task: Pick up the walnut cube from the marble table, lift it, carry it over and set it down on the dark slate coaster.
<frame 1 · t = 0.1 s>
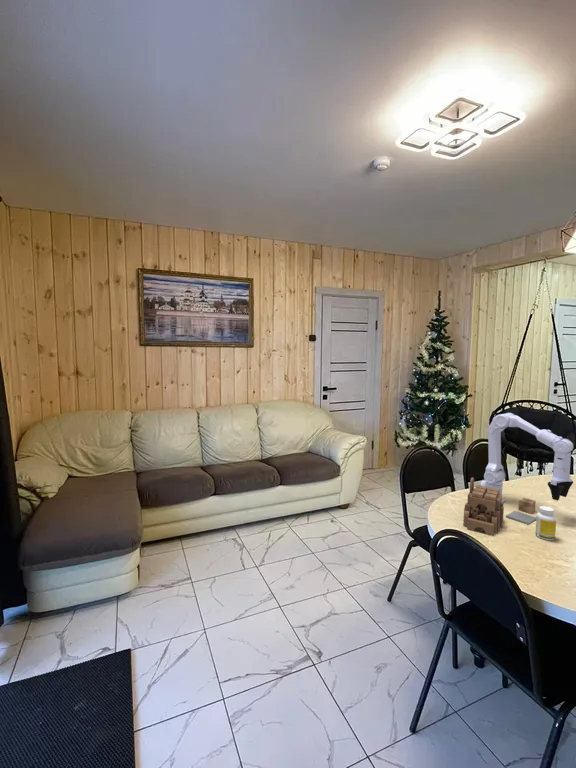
hand: (559, 498, 164), 10 cm above the table, tool pointing down, fingers open, 7 cm apart
slate coaster: (521, 518, 166), on the table
walnut cube: (526, 511, 175), on the table
pill bottle: (544, 537, 149), on the table
wooden puzzle: (482, 523, 162), on the table
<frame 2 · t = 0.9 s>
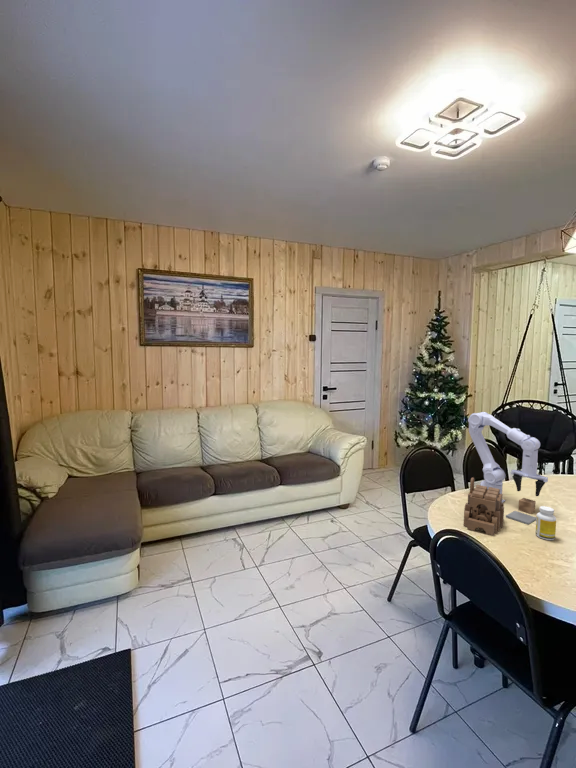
hand: (527, 493, 174), 8 cm above the table, tool pointing down, fingers open, 7 cm apart
nothing on the table moved.
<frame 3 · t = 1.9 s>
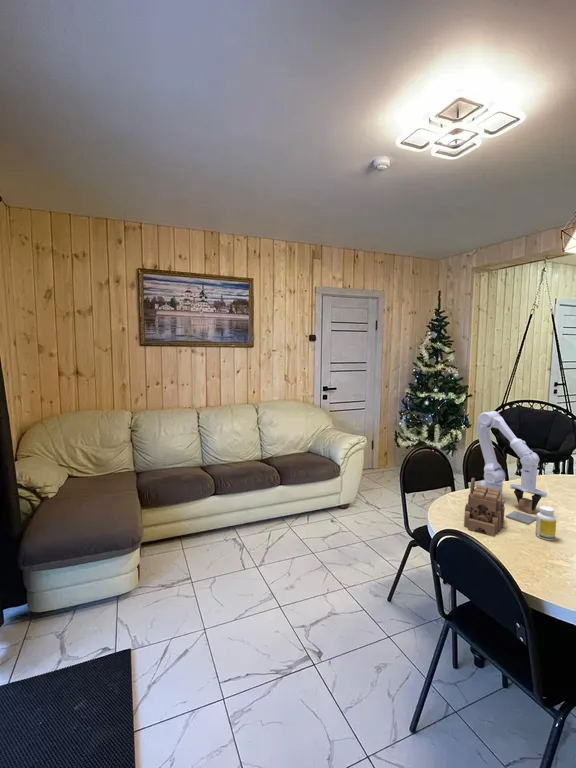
hand: (526, 507, 174), 1 cm above the table, tool pointing down, fingers closed on walnut cube, 5 cm apart
walnut cube: (526, 510, 175), on the table, touching gripper
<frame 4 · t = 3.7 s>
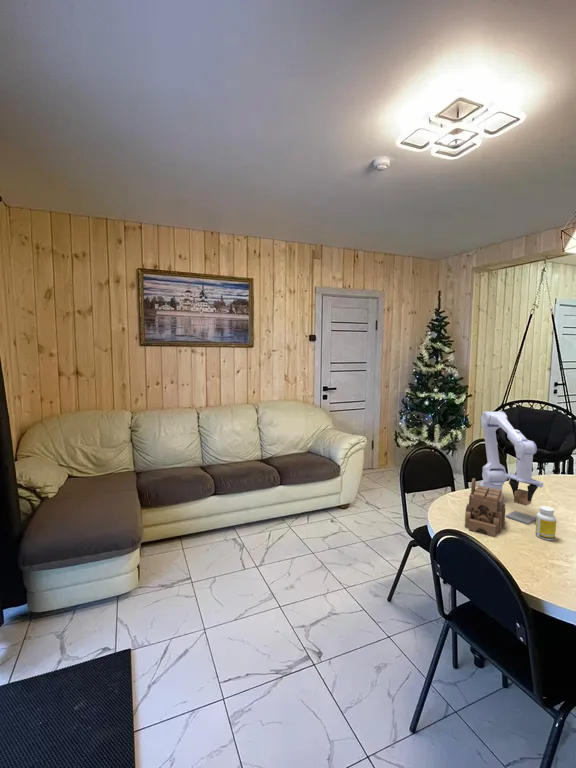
hand: (522, 498, 166), 9 cm above the table, tool pointing down, fingers closed on walnut cube, 5 cm apart
walnut cube: (522, 502, 166), point 7 cm above the table, touching gripper
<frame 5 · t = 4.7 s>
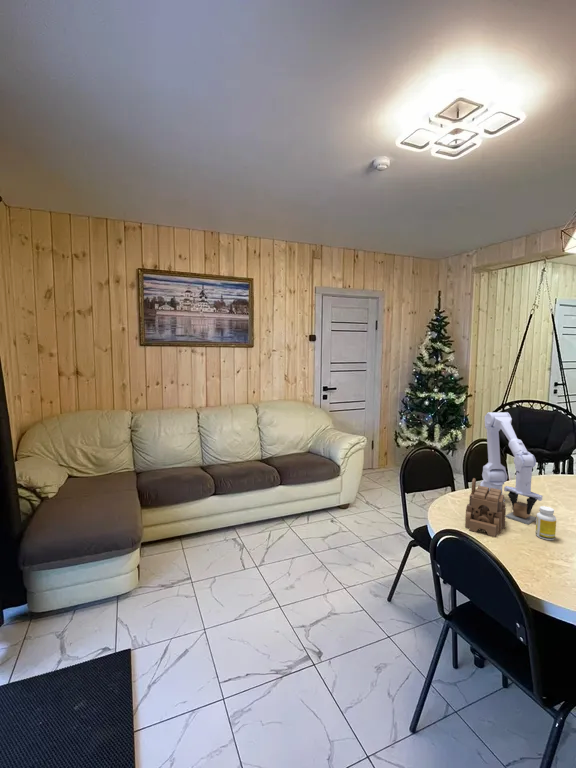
hand: (521, 511, 166), 3 cm above the table, tool pointing down, fingers closed on walnut cube, 5 cm apart
walnut cube: (521, 515, 166), point 1 cm above the table, touching gripper
when the fingers open (3 cm above the table, at t = 5.3 s): walnut cube stays where it is, resting on slate coaster.
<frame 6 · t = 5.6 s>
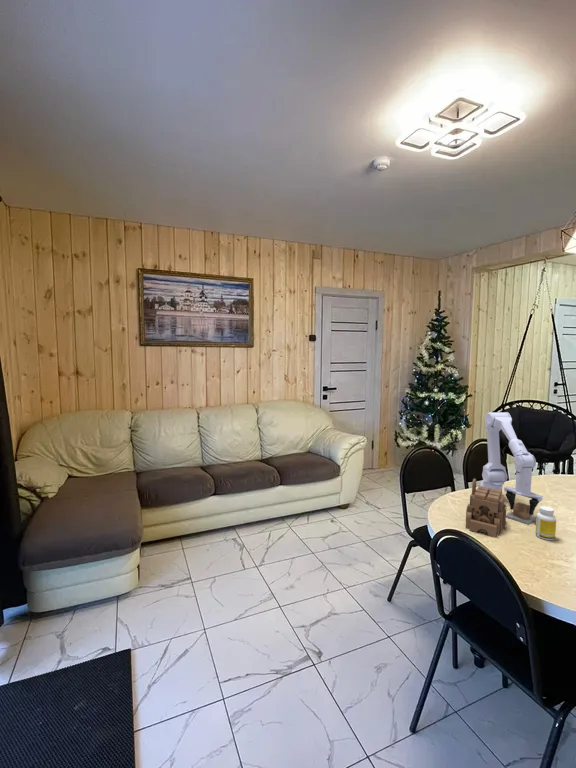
hand: (521, 511, 166), 3 cm above the table, tool pointing down, fingers open, 7 cm apart
walnut cube: (521, 516, 167), point 1 cm above the table, touching slate coaster
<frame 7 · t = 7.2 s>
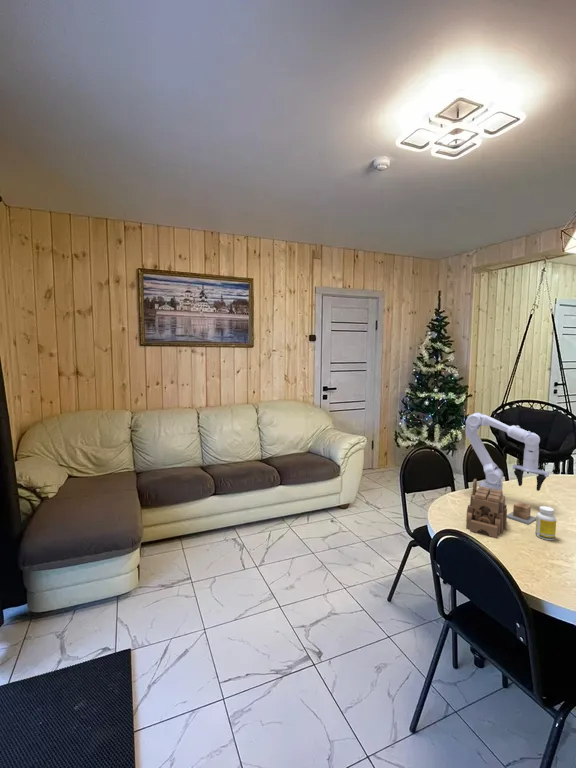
hand: (529, 487, 177), 10 cm above the table, tool pointing down, fingers open, 7 cm apart
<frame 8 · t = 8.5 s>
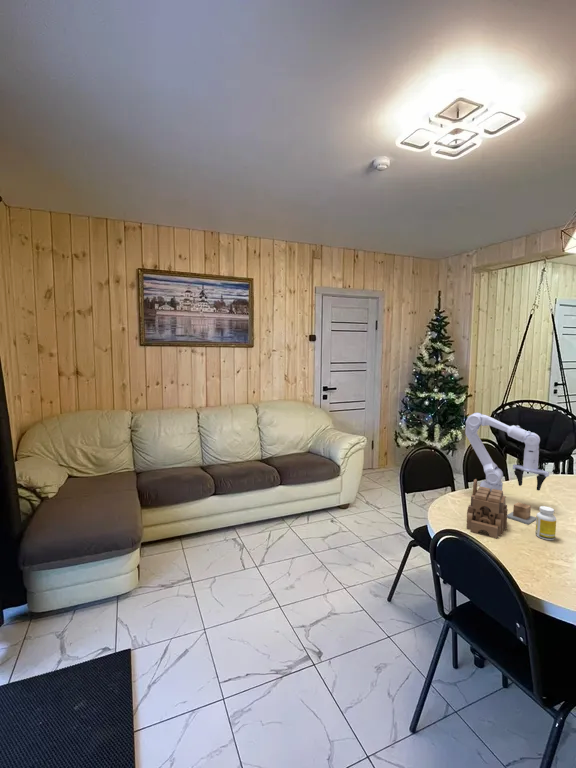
hand: (529, 487, 177), 10 cm above the table, tool pointing down, fingers open, 7 cm apart
at the end: walnut cube inside the target area on the slate coaster (0.4 cm from its centre), point 0.8 cm above the slate coaster's base; walnut cube tilted 0°; the gripper is holding nothing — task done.
